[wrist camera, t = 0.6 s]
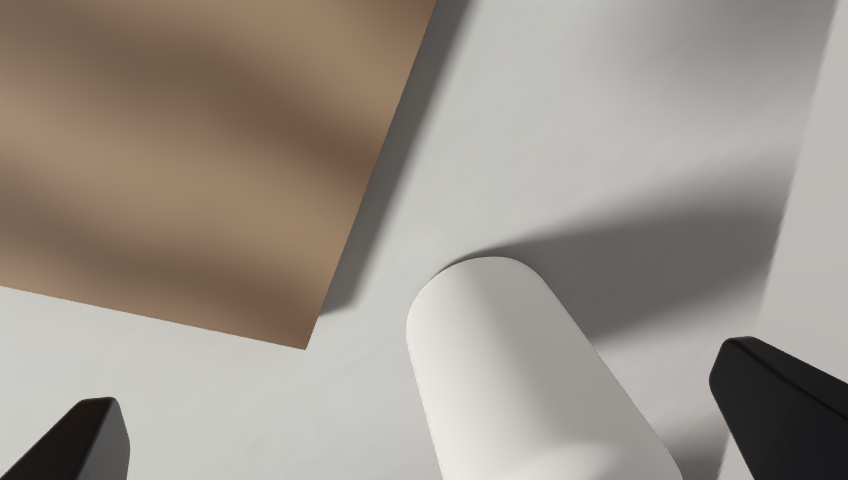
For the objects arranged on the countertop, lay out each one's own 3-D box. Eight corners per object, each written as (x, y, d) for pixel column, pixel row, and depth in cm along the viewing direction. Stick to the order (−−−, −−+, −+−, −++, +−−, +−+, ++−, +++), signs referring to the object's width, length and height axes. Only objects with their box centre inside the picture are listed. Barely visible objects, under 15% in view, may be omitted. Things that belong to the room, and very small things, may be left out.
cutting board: (305, 320, 24) (305, 350, 23) (-183, 210, 19) (-231, 236, 18) (459, -99, 19) (476, -103, 17) (-167, -408, 14) (-236, -460, 12)
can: (565, 255, 25) (758, 478, 15) (531, 379, 28) (672, 644, 17) (415, 246, 24) (508, 487, 13) (393, 378, 26) (457, 667, 16)
